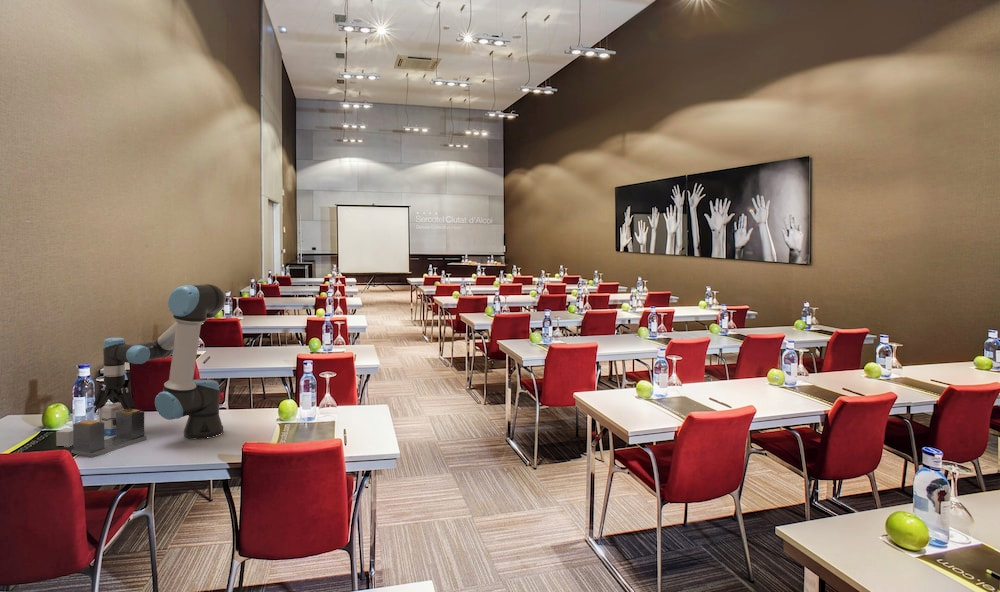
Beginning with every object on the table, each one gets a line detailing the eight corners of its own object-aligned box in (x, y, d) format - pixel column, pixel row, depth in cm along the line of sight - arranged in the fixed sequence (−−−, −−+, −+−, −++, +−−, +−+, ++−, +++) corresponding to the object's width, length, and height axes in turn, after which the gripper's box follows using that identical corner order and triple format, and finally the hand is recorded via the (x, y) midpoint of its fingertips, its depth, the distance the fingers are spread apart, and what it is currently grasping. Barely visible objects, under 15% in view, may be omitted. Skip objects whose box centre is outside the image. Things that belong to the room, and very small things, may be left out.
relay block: (78, 443, 243) (78, 428, 243) (69, 447, 238) (68, 432, 238) (65, 442, 244) (65, 427, 243) (56, 446, 239) (56, 431, 238)
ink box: (111, 436, 254) (111, 407, 253) (101, 434, 255) (100, 406, 254) (127, 430, 262) (127, 403, 261) (117, 429, 263) (117, 402, 262)
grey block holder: (146, 439, 251) (146, 410, 250) (91, 457, 228) (91, 425, 227) (127, 436, 254) (127, 407, 253) (71, 453, 231) (71, 422, 230)
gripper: (145, 376, 257) (145, 426, 258) (99, 370, 264) (99, 419, 266) (129, 379, 250) (130, 430, 251) (83, 373, 257) (83, 423, 258)
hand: (114, 424), depth 258 cm, fingers open, 13 cm apart
